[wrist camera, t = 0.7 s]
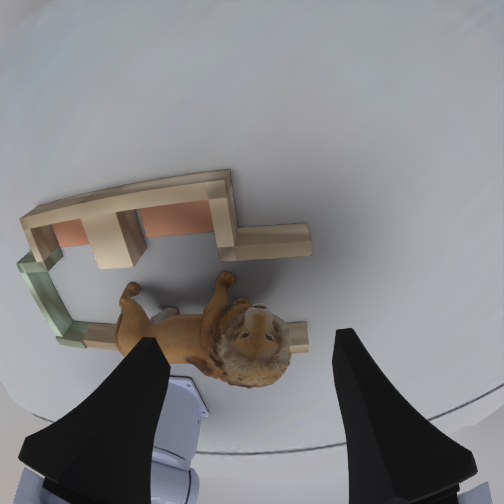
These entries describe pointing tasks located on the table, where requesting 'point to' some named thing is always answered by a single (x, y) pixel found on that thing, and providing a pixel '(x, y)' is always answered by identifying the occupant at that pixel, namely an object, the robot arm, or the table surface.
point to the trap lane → (132, 243)
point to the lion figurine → (213, 336)
